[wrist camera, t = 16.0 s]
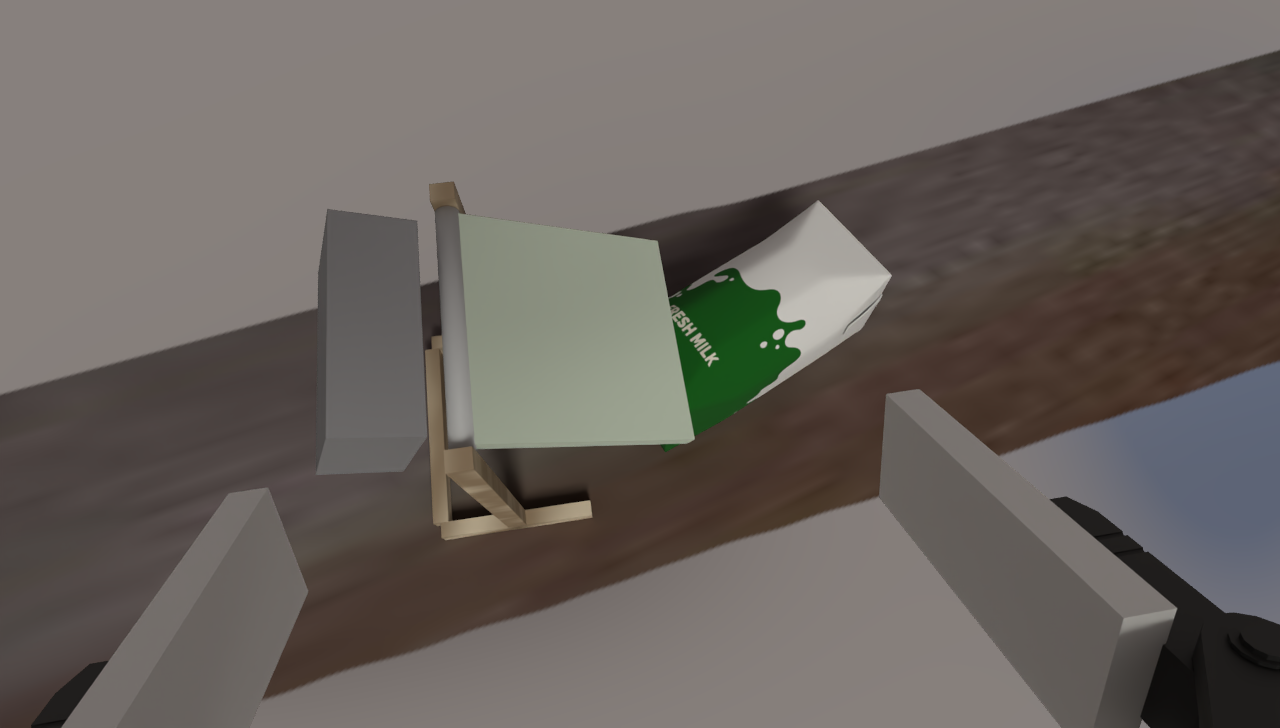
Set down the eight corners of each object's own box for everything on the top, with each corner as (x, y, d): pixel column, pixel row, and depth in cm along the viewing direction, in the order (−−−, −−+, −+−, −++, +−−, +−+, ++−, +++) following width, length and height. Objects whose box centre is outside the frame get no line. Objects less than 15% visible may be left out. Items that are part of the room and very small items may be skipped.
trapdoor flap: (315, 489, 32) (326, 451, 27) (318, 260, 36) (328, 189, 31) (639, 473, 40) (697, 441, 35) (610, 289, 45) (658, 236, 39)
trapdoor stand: (438, 540, 46) (325, 490, 28) (428, 343, 51) (327, 195, 33) (592, 517, 47) (577, 454, 29) (567, 325, 52) (542, 172, 34)
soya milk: (672, 466, 48) (885, 325, 52) (674, 424, 40) (927, 259, 44) (605, 373, 51) (812, 246, 55) (594, 315, 43) (838, 172, 47)
